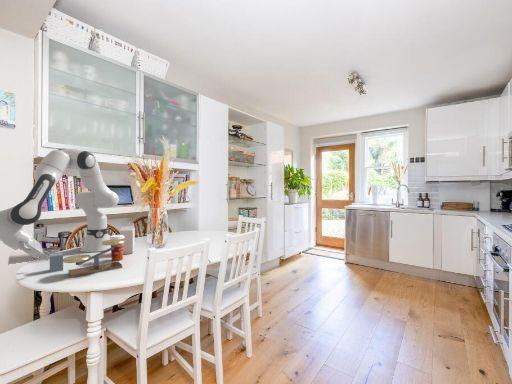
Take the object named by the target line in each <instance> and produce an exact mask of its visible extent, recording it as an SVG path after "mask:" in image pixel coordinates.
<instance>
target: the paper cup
mask: <svg viewBox="0 0 512 384" xmlns="http://www.w3.org/2000/svg"><path fill="white" fill-rule="evenodd" d="M124 238H125V237H124V235H120V234H114V235H110V240H112V239H124ZM111 247H113V245H111ZM123 249H124V243H123V244H119V245H115V248H114V249H113V250H111V252H110V253H111V254H110V255H111V262H117V261H118V262H120V261H122V260H123V259H124V254H123Z"/></svg>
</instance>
